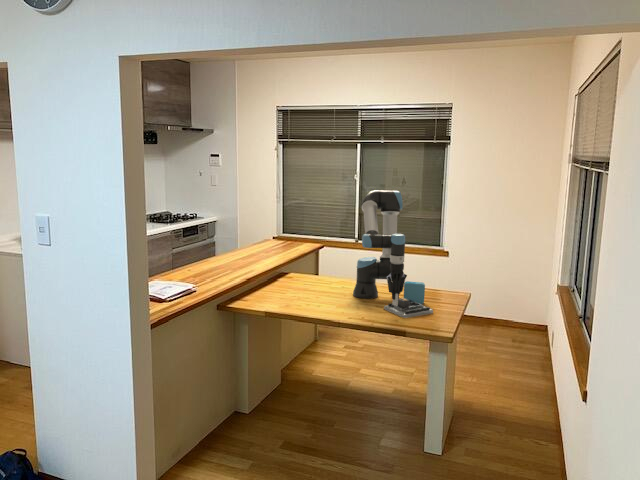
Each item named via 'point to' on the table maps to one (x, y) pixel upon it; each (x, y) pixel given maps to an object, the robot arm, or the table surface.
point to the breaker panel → (409, 309)
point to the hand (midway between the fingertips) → (395, 304)
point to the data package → (414, 291)
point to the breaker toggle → (403, 302)
